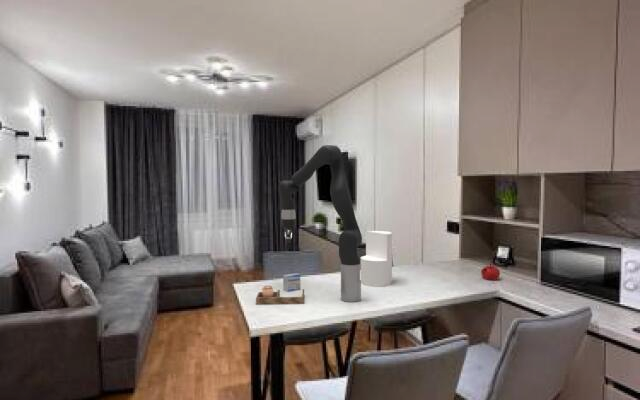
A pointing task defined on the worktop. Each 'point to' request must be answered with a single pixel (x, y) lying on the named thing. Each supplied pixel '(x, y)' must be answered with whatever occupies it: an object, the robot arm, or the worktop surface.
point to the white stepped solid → (377, 259)
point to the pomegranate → (490, 272)
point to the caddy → (278, 299)
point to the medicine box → (291, 282)
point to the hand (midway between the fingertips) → (288, 248)
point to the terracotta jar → (267, 291)
